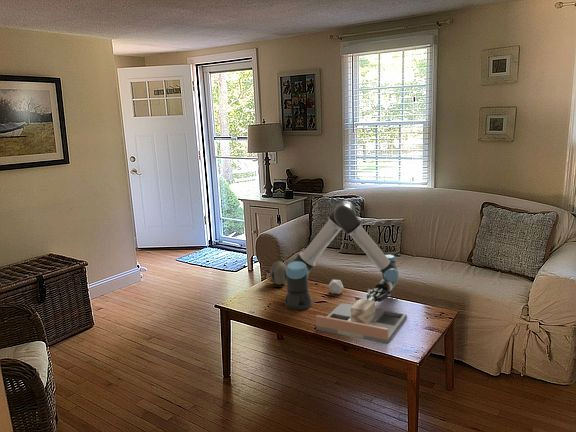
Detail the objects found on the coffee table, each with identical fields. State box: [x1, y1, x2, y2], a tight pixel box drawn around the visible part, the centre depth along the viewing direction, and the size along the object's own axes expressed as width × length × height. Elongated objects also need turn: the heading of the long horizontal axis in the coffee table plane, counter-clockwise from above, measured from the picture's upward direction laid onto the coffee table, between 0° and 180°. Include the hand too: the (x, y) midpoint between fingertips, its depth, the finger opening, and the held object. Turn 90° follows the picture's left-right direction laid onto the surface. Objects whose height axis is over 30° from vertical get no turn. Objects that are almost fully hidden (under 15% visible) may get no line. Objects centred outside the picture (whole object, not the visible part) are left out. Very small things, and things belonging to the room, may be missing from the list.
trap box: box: [315, 302, 408, 345], centre depth 228 cm, size 36×30×7 cm
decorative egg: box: [269, 260, 287, 286], centre depth 288 cm, size 12×12×15 cm
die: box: [327, 279, 344, 295], centre depth 269 cm, size 8×9×10 cm
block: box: [351, 298, 376, 324], centre depth 228 cm, size 8×12×8 cm, turn 149°
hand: (368, 303), depth 232 cm, fingers closed
